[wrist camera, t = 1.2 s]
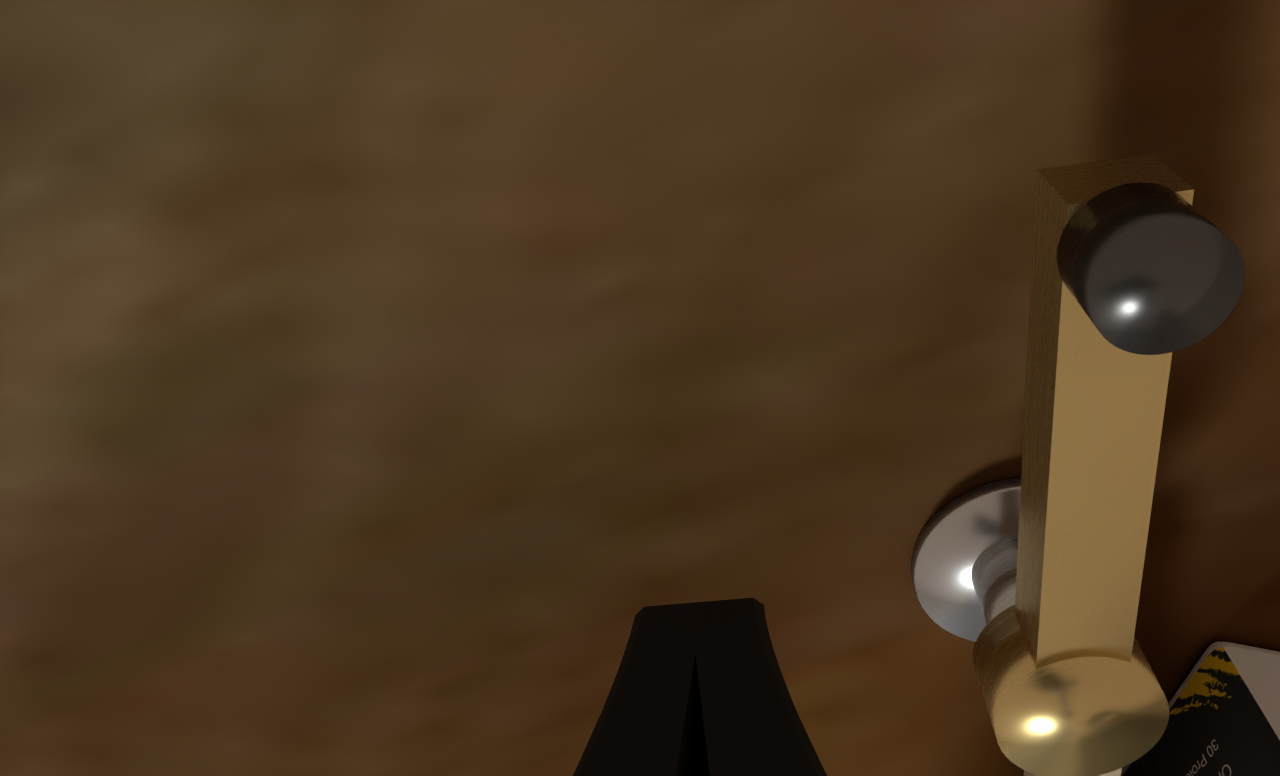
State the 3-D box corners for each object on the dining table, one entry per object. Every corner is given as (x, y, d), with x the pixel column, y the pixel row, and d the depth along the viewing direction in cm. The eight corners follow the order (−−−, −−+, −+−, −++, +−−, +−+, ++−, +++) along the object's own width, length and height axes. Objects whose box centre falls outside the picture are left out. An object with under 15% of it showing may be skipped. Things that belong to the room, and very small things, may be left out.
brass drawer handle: (1124, 698, 20) (1186, 831, 18) (971, 708, 21) (1010, 840, 18) (1200, 130, 14) (1309, 208, 12) (984, 158, 15) (1044, 239, 12)
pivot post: (1110, 623, 23) (1151, 707, 21) (912, 639, 24) (933, 722, 22) (1128, 467, 21) (1176, 543, 19) (910, 487, 21) (932, 564, 19)
